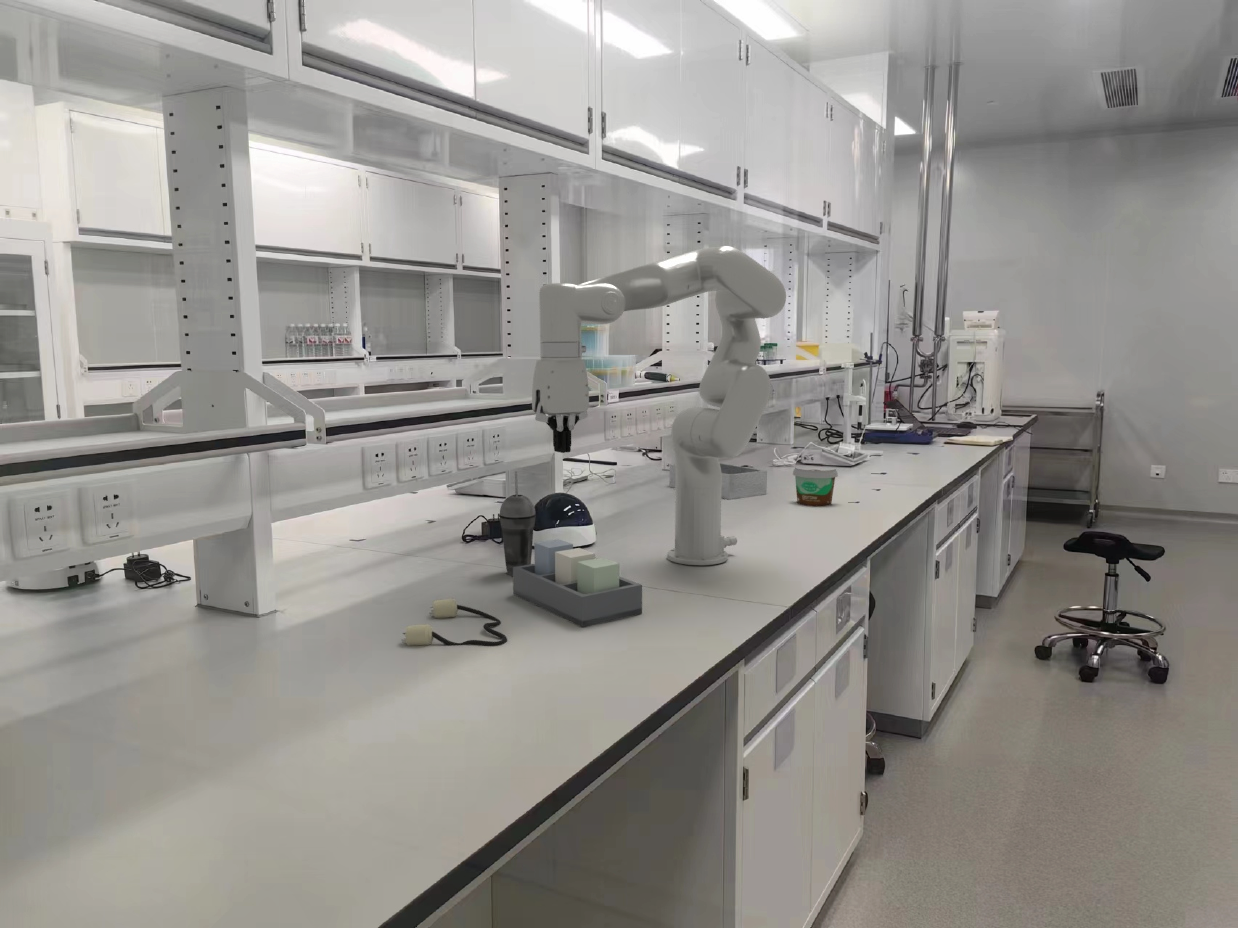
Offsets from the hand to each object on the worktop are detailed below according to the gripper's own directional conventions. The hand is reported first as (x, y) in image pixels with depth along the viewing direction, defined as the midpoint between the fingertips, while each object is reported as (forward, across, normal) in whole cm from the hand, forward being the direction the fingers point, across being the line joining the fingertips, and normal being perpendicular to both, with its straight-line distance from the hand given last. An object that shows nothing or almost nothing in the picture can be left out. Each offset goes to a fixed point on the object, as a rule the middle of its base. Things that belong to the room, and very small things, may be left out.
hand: (562, 451), depth 164 cm
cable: (+25, +28, +14) cm, 40 cm away
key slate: (+21, +6, +6) cm, 23 cm away
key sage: (+22, +6, +20) cm, 31 cm away
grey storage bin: (+26, -92, -58) cm, 112 cm away
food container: (+26, -98, -25) cm, 104 cm away
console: (+25, +6, +13) cm, 29 cm away
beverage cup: (+25, +4, -10) cm, 27 cm away
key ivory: (+22, +6, +13) cm, 26 cm away
